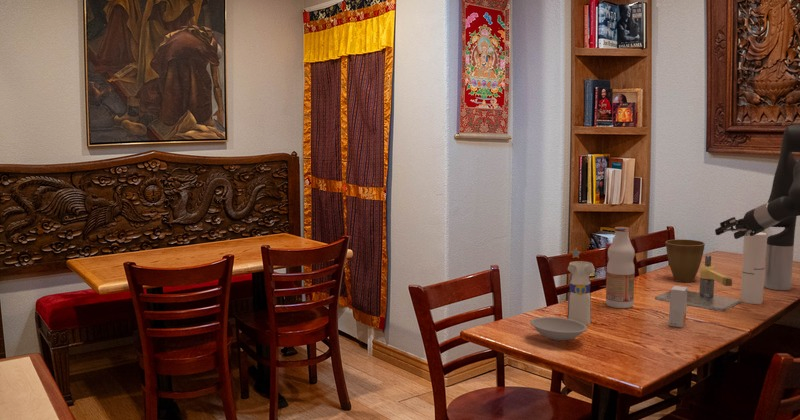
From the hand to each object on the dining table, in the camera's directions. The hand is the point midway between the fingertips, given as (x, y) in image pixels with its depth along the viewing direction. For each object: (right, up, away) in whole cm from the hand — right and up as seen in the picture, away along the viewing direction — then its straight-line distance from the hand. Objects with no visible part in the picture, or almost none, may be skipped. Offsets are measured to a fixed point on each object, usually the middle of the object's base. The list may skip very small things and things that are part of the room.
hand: (725, 234), depth 240 cm
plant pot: (+3, -21, +43) cm, 48 cm away
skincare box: (-25, -28, -19) cm, 42 cm away
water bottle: (-55, -28, -15) cm, 64 cm away
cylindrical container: (+14, -25, +9) cm, 30 cm away
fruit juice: (-36, -26, +5) cm, 44 cm away
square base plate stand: (-6, -25, +10) cm, 27 cm away
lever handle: (-1, -17, +5) cm, 18 cm away
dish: (-67, -31, -35) cm, 81 cm away
